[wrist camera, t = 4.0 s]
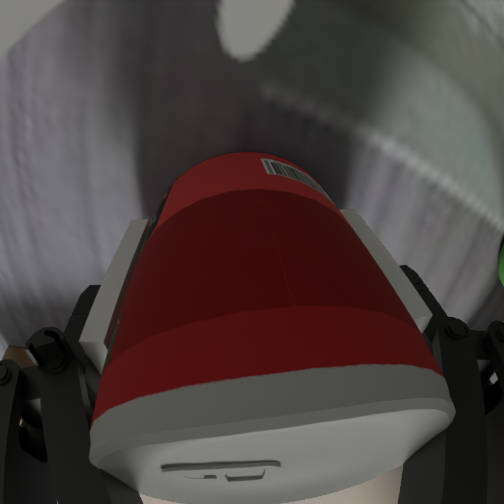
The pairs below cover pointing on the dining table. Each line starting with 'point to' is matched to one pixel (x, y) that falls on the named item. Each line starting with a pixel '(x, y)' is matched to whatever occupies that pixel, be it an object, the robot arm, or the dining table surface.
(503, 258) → the wine bottle
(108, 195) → the dining table surface
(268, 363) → the canned food
